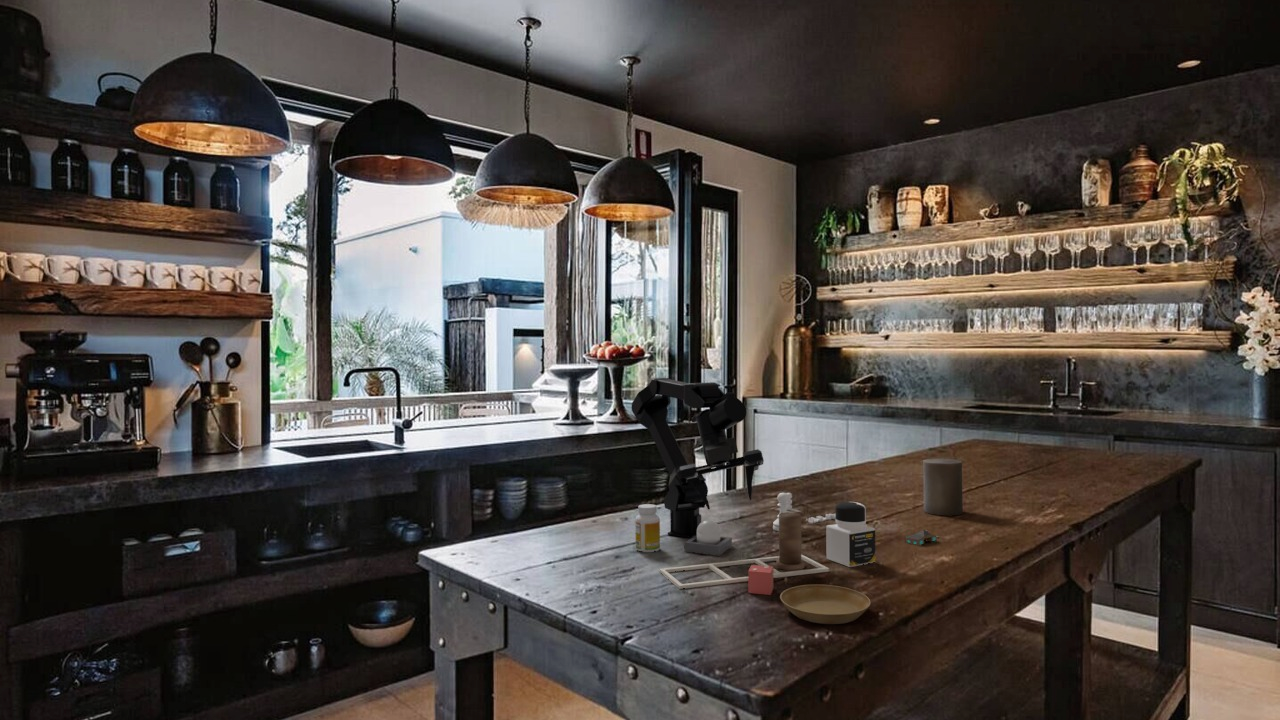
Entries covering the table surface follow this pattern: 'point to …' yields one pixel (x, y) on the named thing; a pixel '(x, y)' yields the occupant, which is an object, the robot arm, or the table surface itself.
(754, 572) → the red die
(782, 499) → the chess pawn
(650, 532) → the supplement bottle
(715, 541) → the white ball
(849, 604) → the plant saucer
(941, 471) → the pillar candle
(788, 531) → the brown flanged cylinder
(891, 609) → the table surface
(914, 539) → the game pieces
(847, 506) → the medicine bottle
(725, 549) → the dome base
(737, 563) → the track
